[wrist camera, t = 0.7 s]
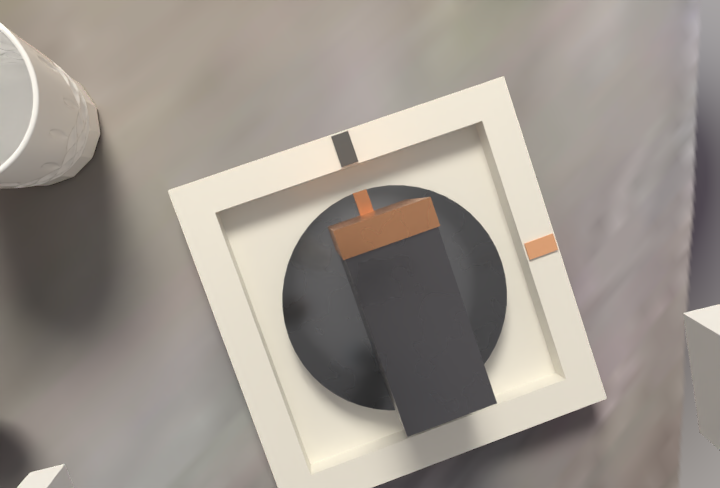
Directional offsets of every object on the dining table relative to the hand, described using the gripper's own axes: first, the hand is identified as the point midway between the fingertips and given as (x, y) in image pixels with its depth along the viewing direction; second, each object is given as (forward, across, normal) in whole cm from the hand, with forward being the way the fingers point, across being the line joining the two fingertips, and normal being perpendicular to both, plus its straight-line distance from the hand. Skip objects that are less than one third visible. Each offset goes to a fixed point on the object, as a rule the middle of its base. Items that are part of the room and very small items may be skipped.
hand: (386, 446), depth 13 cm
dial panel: (+25, -1, +5) cm, 25 cm away
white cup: (+26, +16, -10) cm, 32 cm away
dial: (+24, -1, +4) cm, 24 cm away
